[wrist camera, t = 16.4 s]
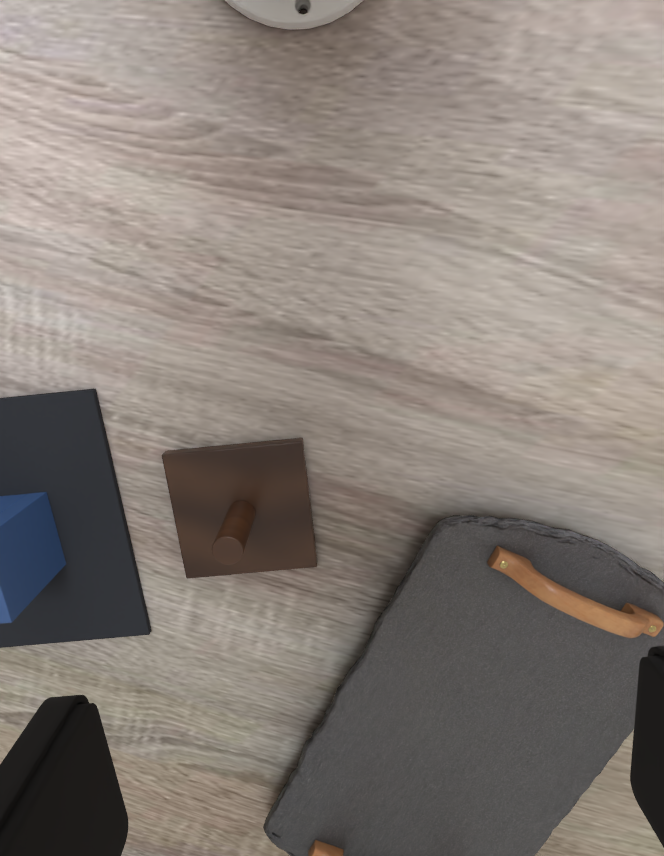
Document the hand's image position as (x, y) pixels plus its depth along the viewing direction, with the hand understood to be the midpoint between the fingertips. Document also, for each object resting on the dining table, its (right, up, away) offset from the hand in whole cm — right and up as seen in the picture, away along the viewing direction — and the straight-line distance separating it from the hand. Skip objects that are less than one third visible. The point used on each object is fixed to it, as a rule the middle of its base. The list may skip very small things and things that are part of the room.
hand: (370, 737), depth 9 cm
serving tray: (+10, -19, +35) cm, 41 cm away
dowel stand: (-7, -1, +30) cm, 30 cm away
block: (-24, -2, +30) cm, 38 cm away
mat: (-24, -2, +30) cm, 39 cm away
